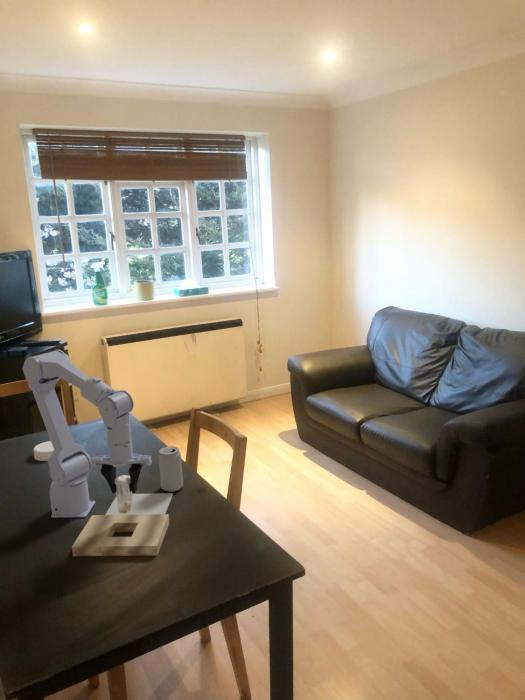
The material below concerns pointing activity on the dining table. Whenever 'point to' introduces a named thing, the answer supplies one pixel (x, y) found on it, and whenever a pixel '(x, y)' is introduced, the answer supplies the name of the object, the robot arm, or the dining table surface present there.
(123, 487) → the milkshake
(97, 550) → the pocket holder
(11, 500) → the dining table surface
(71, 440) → the robot arm
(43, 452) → the white ridged disc
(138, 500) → the grey mat
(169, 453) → the beverage can
